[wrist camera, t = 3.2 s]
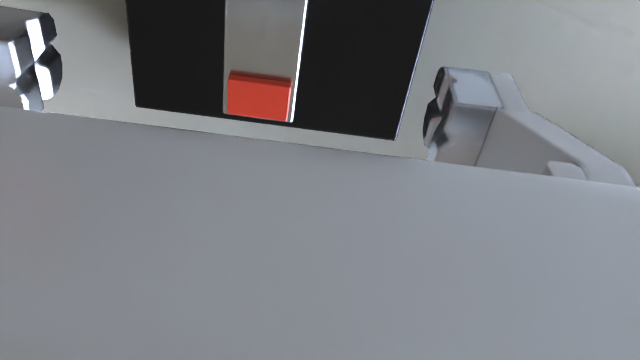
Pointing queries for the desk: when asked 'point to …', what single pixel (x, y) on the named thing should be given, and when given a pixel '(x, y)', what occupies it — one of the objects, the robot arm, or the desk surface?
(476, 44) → the desk surface
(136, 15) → the hob panel
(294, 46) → the knob
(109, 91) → the desk surface
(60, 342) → the robot arm
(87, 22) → the desk surface
